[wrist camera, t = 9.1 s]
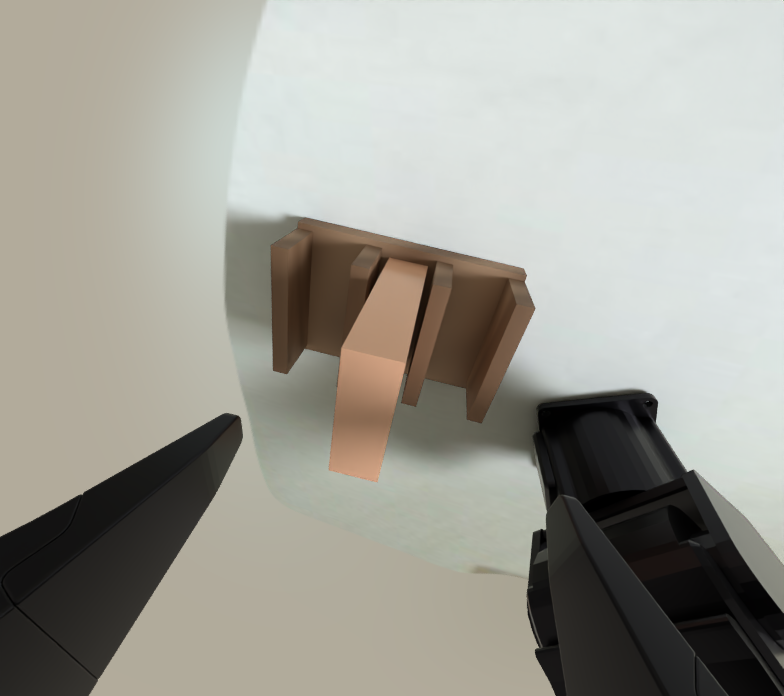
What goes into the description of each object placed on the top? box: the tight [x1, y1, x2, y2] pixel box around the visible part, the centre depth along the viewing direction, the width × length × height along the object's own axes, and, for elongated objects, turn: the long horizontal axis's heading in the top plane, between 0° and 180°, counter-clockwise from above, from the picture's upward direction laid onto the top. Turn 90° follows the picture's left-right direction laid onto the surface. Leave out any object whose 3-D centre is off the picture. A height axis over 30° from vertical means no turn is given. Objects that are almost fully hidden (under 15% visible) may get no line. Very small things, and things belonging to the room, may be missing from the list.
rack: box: [271, 218, 535, 423], centre depth 18 cm, size 12×8×4 cm, turn 80°
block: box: [329, 258, 428, 482], centre depth 16 cm, size 2×6×8 cm, turn 171°
